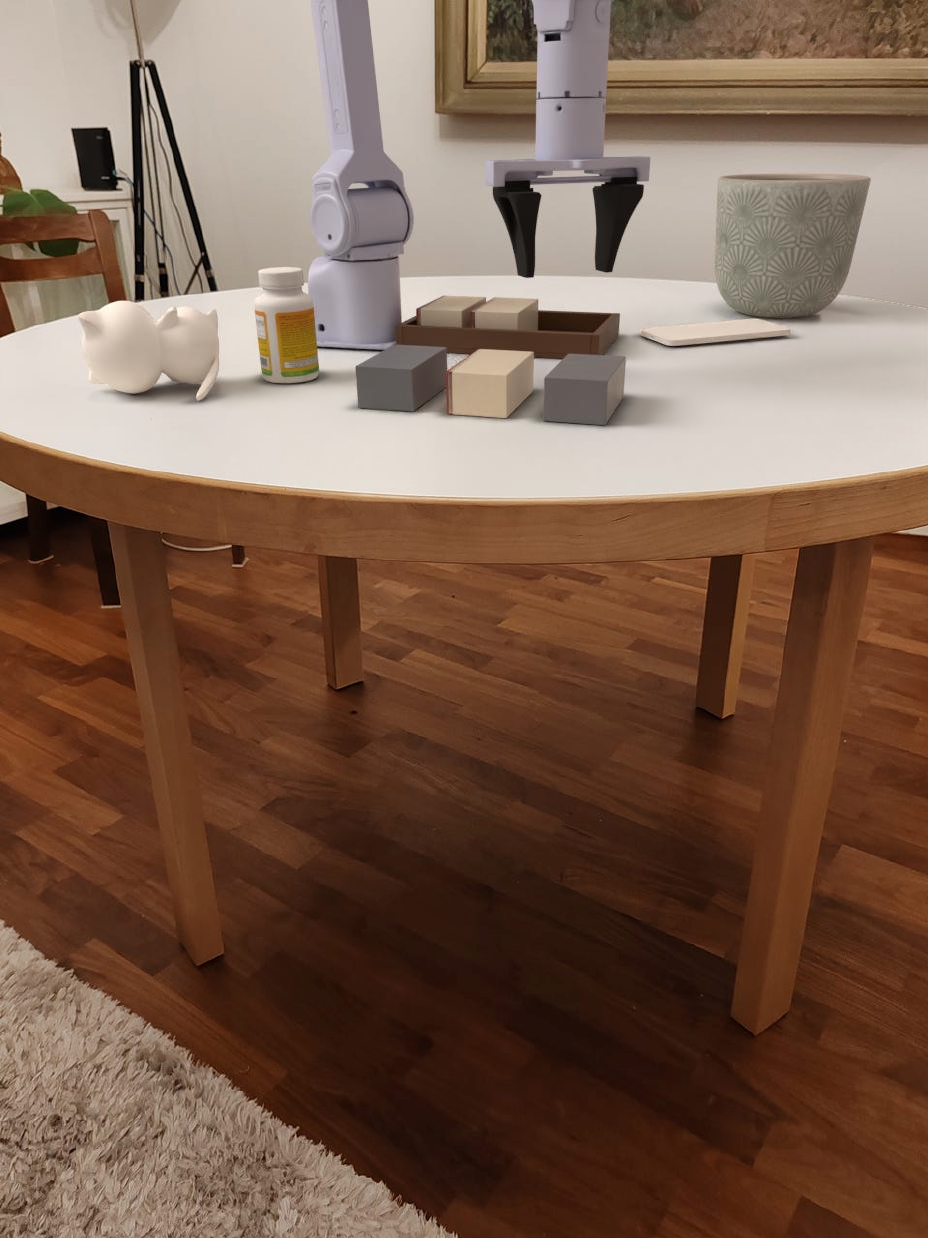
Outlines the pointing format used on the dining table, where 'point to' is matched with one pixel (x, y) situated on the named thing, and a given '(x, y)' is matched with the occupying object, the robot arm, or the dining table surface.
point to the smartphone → (714, 332)
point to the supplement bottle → (286, 327)
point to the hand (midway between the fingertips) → (565, 273)
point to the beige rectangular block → (490, 383)
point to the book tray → (522, 335)
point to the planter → (786, 240)
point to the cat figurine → (150, 347)
